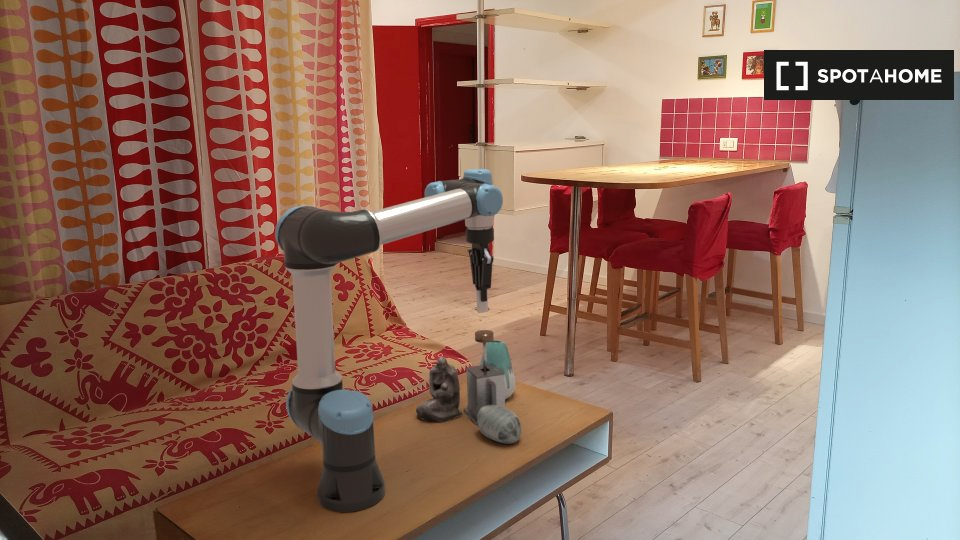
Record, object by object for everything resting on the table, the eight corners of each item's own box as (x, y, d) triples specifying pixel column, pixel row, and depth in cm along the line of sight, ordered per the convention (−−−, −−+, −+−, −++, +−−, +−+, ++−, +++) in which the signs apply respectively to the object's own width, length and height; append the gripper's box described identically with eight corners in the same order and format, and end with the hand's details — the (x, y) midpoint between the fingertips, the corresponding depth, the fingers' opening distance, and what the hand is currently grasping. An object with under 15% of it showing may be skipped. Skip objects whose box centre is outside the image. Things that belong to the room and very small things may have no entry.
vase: (498, 386, 226) (496, 332, 223) (523, 397, 218) (522, 340, 214) (469, 396, 219) (467, 340, 215) (494, 407, 211) (493, 349, 207)
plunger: (479, 381, 200) (478, 337, 197) (472, 374, 205) (471, 331, 202) (498, 378, 202) (497, 334, 199) (490, 371, 207) (489, 328, 204)
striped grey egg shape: (534, 430, 188) (514, 400, 186) (509, 455, 184) (488, 425, 182) (508, 423, 200) (489, 395, 198) (484, 446, 196) (464, 418, 194)
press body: (478, 427, 198) (476, 380, 195) (463, 411, 208) (462, 366, 206) (511, 420, 201) (510, 374, 198) (495, 405, 212) (494, 361, 209)
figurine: (416, 424, 201) (413, 363, 197) (415, 407, 212) (413, 349, 208) (463, 421, 202) (461, 360, 198) (460, 405, 213) (458, 346, 209)
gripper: (502, 229, 189) (504, 316, 194) (483, 222, 201) (486, 304, 206) (475, 232, 187) (478, 319, 192) (458, 225, 198) (461, 307, 204)
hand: (482, 311), depth 199 cm, fingers closed
